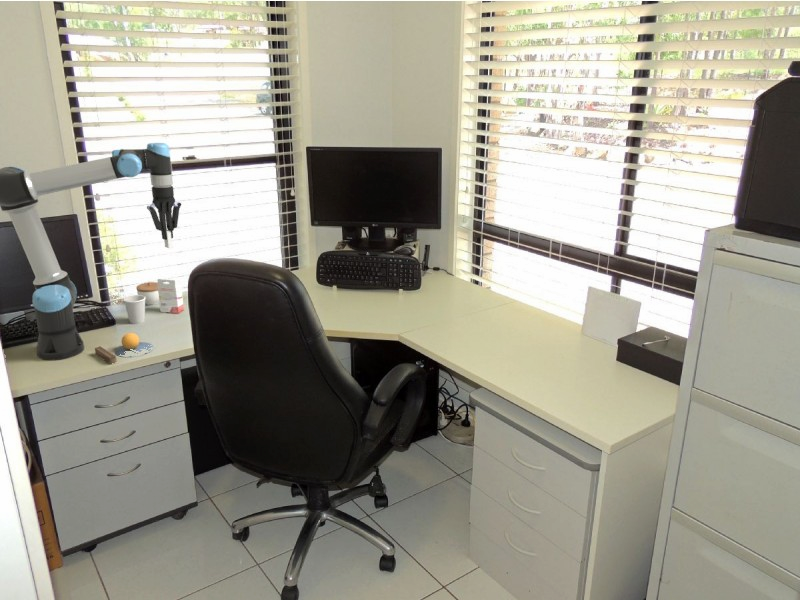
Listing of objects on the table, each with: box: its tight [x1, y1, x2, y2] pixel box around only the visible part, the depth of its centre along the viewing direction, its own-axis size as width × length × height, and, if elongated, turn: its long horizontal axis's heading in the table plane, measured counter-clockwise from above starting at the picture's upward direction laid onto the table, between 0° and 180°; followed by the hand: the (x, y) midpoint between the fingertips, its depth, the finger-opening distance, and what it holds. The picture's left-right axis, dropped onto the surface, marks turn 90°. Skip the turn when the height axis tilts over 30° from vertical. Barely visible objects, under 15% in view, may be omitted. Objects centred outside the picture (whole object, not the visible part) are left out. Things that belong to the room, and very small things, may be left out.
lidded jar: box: [136, 281, 160, 306], centre depth 273 cm, size 11×11×9 cm
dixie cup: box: [122, 294, 146, 325], centre depth 251 cm, size 8×8×10 cm
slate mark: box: [115, 341, 154, 356], centre depth 227 cm, size 13×13×1 cm
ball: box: [120, 332, 140, 349], centre depth 227 cm, size 6×6×6 cm
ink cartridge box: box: [157, 278, 185, 314], centre depth 263 cm, size 9×5×15 cm, turn 80°
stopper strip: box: [94, 346, 117, 365], centre depth 219 cm, size 2×12×2 cm, turn 48°
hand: (168, 247), depth 239 cm, fingers closed
